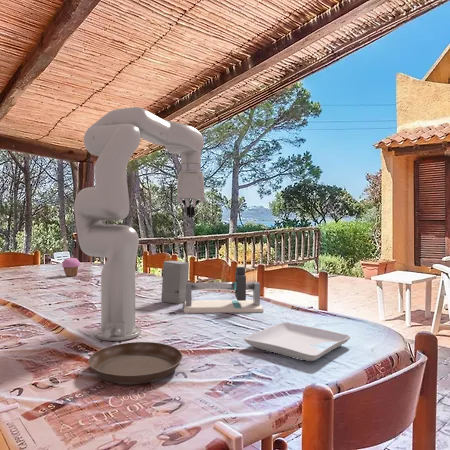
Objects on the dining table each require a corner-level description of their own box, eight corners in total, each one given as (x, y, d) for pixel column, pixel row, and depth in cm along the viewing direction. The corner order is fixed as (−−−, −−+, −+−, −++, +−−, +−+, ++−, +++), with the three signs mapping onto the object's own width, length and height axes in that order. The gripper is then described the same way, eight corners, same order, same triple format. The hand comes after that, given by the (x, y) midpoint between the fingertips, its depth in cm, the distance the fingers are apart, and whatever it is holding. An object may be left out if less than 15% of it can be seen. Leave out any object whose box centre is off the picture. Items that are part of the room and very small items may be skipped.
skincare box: (161, 302, 159) (161, 261, 159) (171, 298, 166) (171, 259, 165) (179, 304, 155) (179, 263, 155) (189, 300, 162) (189, 261, 161)
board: (263, 312, 145) (263, 308, 145) (183, 312, 143) (184, 309, 143) (257, 303, 159) (257, 299, 159) (185, 303, 157) (185, 300, 157)
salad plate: (283, 331, 123) (283, 320, 123) (351, 347, 109) (352, 334, 109) (240, 350, 106) (241, 337, 106) (315, 370, 93) (315, 356, 93)
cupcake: (83, 275, 221) (83, 257, 220) (69, 278, 213) (69, 258, 213) (72, 274, 225) (72, 256, 225) (58, 276, 218) (58, 257, 218)
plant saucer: (184, 353, 103) (184, 340, 103) (179, 389, 83) (179, 373, 82) (102, 354, 102) (102, 341, 102) (75, 391, 82) (75, 375, 81)
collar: (245, 300, 147) (246, 268, 146) (237, 300, 147) (237, 268, 146) (243, 295, 156) (243, 265, 155) (235, 295, 155) (235, 265, 155)
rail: (259, 305, 150) (260, 282, 149) (185, 306, 148) (185, 283, 147) (258, 302, 154) (258, 280, 153) (186, 303, 152) (186, 281, 151)
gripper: (170, 168, 151) (170, 217, 151) (210, 168, 152) (210, 217, 152) (171, 169, 158) (171, 217, 159) (210, 170, 159) (210, 217, 160)
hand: (190, 217), depth 156 cm, fingers closed
